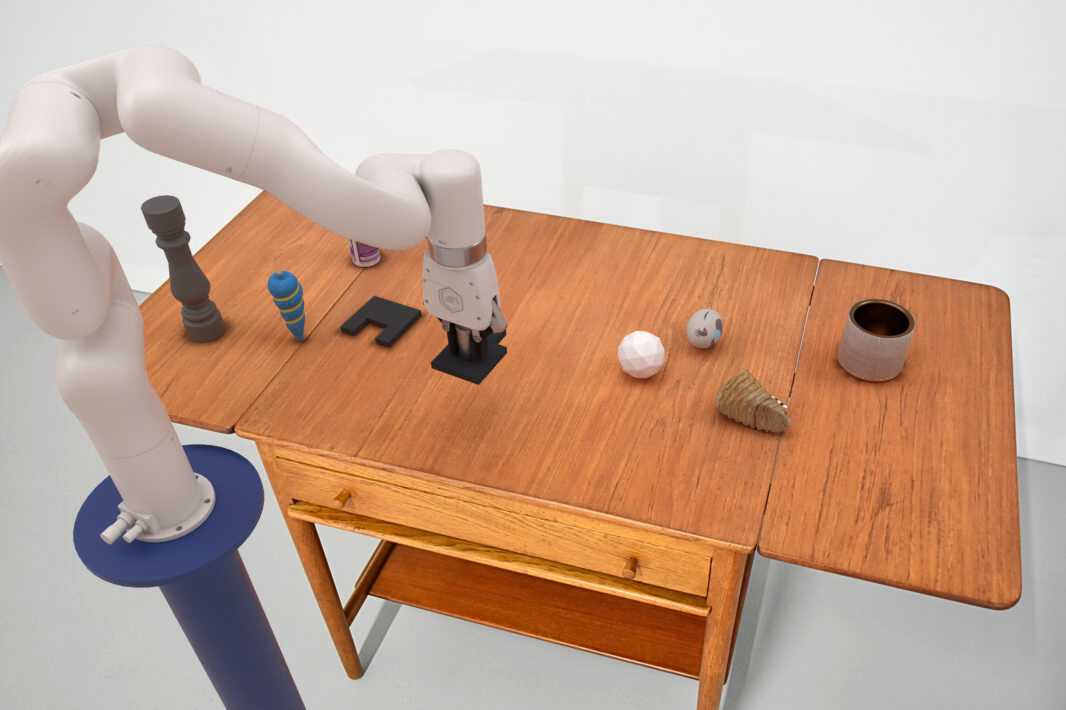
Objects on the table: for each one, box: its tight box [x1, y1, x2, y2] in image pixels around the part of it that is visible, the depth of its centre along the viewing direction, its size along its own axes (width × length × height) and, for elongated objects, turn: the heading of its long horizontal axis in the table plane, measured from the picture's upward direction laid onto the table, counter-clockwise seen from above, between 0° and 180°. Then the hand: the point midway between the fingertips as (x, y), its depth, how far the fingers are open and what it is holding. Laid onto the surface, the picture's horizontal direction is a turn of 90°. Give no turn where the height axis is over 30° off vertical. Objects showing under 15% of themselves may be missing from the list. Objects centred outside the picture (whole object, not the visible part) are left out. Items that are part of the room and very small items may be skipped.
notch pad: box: [339, 295, 423, 349], centre depth 157 cm, size 10×10×1 cm
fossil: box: [715, 367, 792, 433], centre depth 141 cm, size 12×6×9 cm
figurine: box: [685, 306, 724, 349], centre depth 152 cm, size 8×6×7 cm
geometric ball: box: [617, 330, 666, 379], centre depth 147 cm, size 8×8×8 cm
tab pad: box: [430, 324, 508, 386], centre depth 130 cm, size 12×8×7 cm
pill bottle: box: [347, 238, 381, 268], centre depth 169 cm, size 5×5×10 cm
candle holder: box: [140, 194, 226, 344], centre depth 147 cm, size 6×6×25 cm
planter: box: [837, 298, 917, 382], centre depth 149 cm, size 11×11×10 cm
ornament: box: [266, 269, 306, 342], centre depth 149 cm, size 5×5×15 cm
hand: (468, 352), depth 130 cm, fingers closed on tab pad, 3 cm apart
